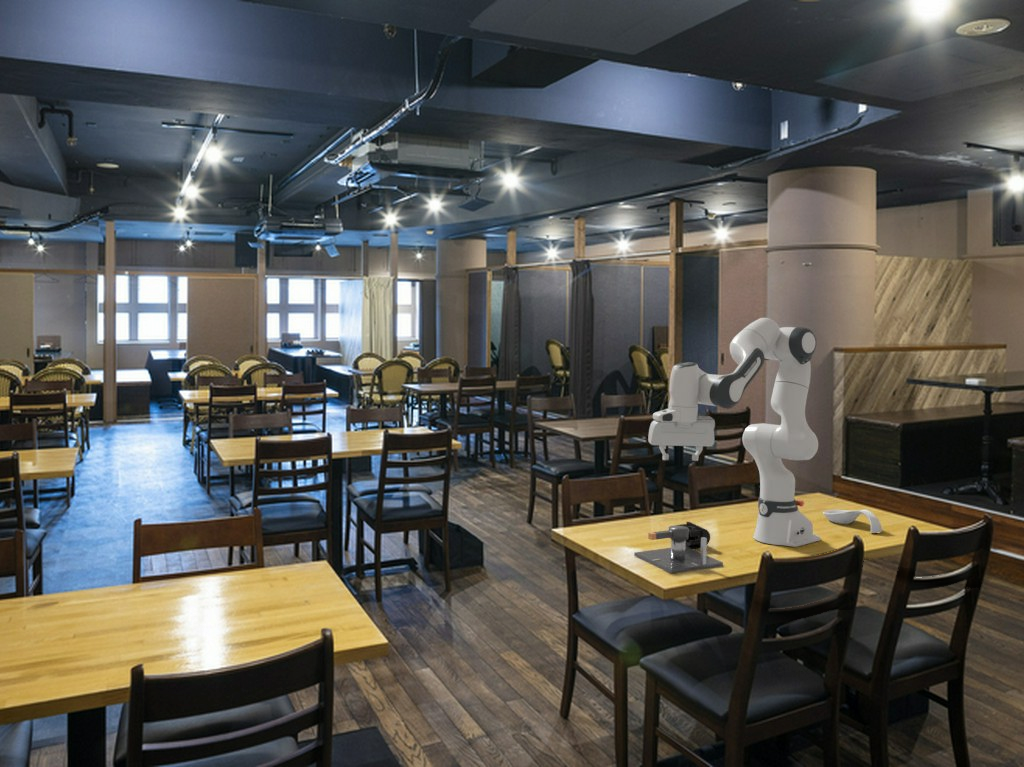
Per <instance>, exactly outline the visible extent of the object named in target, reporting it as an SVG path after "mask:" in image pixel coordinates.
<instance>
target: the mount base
mask: <svg viewBox="0 0 1024 767" xmlns="http://www.w3.org/2000/svg"><path fill="white" fill-rule="evenodd" d="M707 545H708V544H707V538H705V537H702V538H701V549H700V552H699V551H697V550H696V549H694V550H692V549H690V548H688V547H686V540H673V539H670V547H666V548H659V549H658V548H657V549H651V550H645V551H644V550H643V551H635V552H634V553H633V554H634V557H635V558H638V559H640V560H643V561H645V562H647V563H649V564H650V565H653V566H654V567H657V568H659V569H661V570H663V571H665V572H667V573H670V574H676V573H678V574H679V573H683V572H691V571H697V569H698V570H702V569H703V570H704V569H711V568H717V567H722V566H723V565H724V562H723V561H720V560H718V559H717V558H716V559H715V558H713V557H711V556H709V555H707V548H708V546H707ZM710 567H711V568H710Z"/></svg>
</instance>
